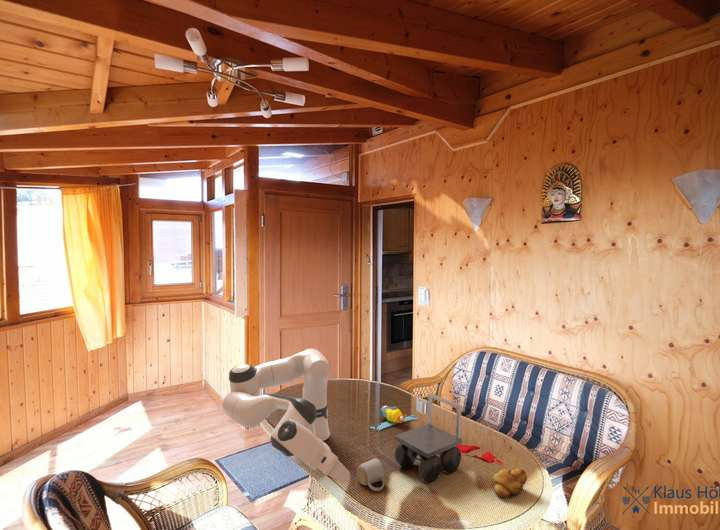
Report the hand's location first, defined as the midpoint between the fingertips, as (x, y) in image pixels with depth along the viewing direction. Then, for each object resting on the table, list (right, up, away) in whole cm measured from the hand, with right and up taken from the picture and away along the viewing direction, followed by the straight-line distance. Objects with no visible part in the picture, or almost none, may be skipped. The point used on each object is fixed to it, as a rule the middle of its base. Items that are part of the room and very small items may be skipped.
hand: (340, 473), depth 144 cm
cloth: (+56, -8, +31) cm, 64 cm away
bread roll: (+59, -8, +3) cm, 60 cm away
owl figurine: (+23, -6, +61) cm, 66 cm away
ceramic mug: (+11, -8, +8) cm, 16 cm away
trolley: (+33, -7, +18) cm, 38 cm away
